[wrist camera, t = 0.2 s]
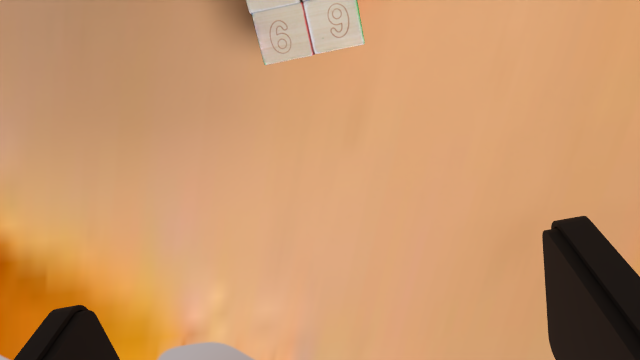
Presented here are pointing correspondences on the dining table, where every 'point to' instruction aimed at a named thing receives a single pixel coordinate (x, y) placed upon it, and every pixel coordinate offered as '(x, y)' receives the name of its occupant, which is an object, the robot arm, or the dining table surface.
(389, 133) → the dining table surface
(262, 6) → the stack of blocks
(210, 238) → the dining table surface
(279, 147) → the dining table surface
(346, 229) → the dining table surface
